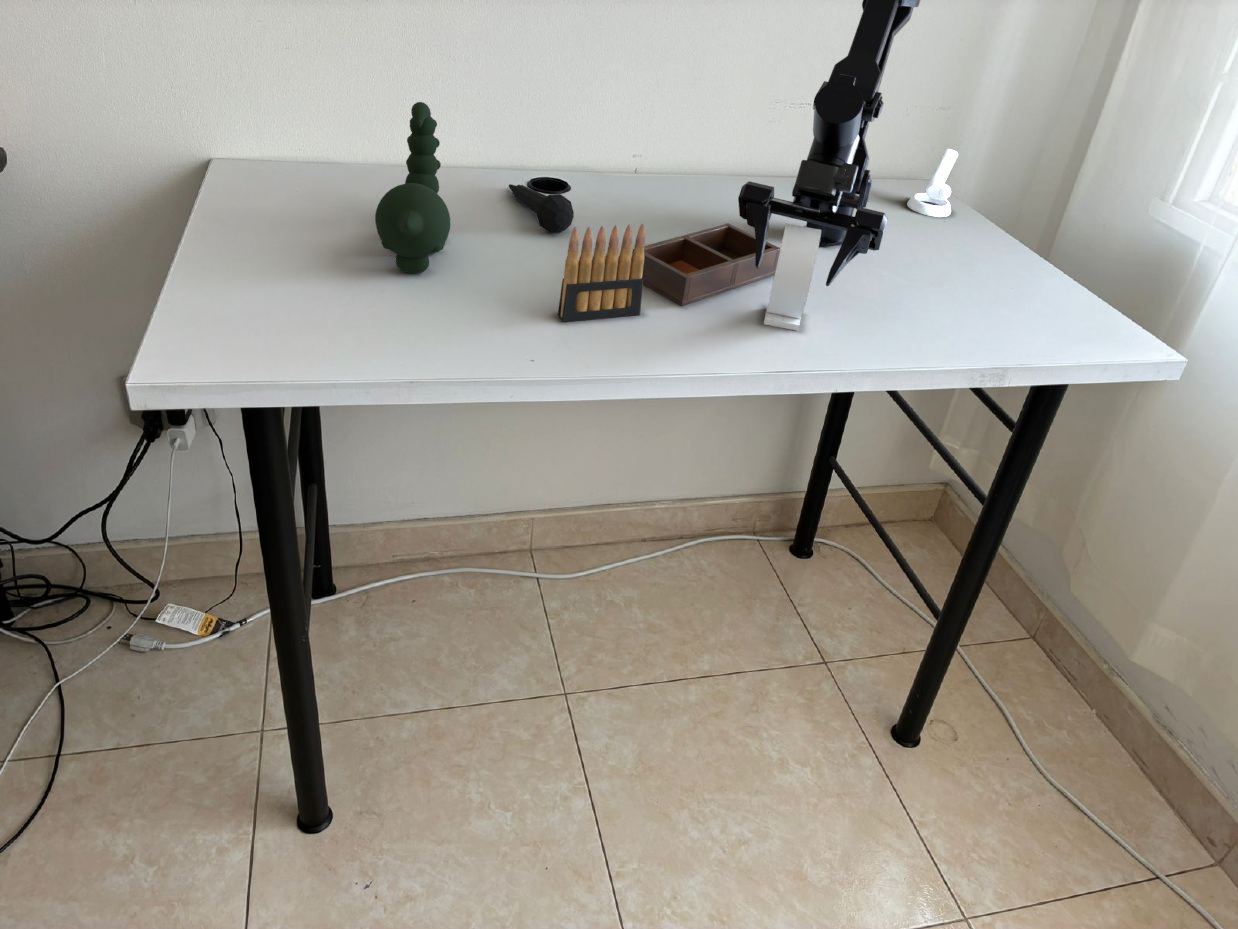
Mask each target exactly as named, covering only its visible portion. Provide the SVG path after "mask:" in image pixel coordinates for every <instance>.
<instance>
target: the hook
mask: <svg viewBox="0 0 1238 929" xmlns="http://www.w3.org/2000/svg"><path fill="white" fill-rule="evenodd" d="M958 157H959V153H958V151H956V150H954V149H951V148H947V149H945V151H944V153H943V155H942V156H941V158H940V160H939V163H938V165H937V166H936V168H935V170H934V172H933V175H932V176H931V178H930V180H929V182H928V183H927V185H926V187H925V192H917V193H914V194H913V195H912V196H911V198H909V199H908V201H907V203H906V205H907V207H908V208H909V209H910V210H912V211H913V212H916V213H918V214H921V215H924V216H929V217H935V218H936V217H937V218H942V217H949V216H950V215H951V212H952V209H951V203H950V201H949V200H948V199H949V197H950V196H951V194H952V189H951V187H950V186H949V185H948V184H946V183H945V182H946V180H947V178H948V177H949V174H950V172H951V170H952V169H953V166H954V164H955V162H956V160H957V158H958ZM925 202H926V203H925ZM929 203H931V204H929ZM933 204H935V205H933Z"/></svg>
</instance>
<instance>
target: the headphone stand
mask: <svg viewBox="0 0 1238 929" xmlns="http://www.w3.org/2000/svg"><path fill="white" fill-rule="evenodd" d="M820 237H821V230H819V229H813V228H808V227H806V226H802V225H797V224H791V223H785V226H784V231H783V236H782V240H781V246H780V248H781V249H780V254H779V259H778V263H777V268H776V272H775V275H774V278H773V281H772V285H771V289H770V293H769V294H770V295H769V299H768V302H767V306H766V310H765V316H764V321H763V325H766V326H772V327H776V328H781V329H786V330H792V331H797V332H798V331H799V329H800V326H801V325H800V324H801V319H802V316H803V313H804V310H805V307H806V303H807V298H808V296H809V292H810V287H811V283H812V279H813V275H814V270H815V266H816V262H817V257H818V252H819V247H820V244H819V242H820Z"/></svg>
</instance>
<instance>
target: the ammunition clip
mask: <svg viewBox="0 0 1238 929" xmlns="http://www.w3.org/2000/svg"><path fill="white" fill-rule="evenodd" d="M645 228H646V227H645V225H644V223H641V224H640V226H639V227H638V230H637V233H636V237H635V241H634V245H633V246H634V247H633V248H632V244H633V232H632V231H633V230H632V226H631V224H628V225H627V226H626V227H625V230H624V234H623V237H622V242H621V245H620V246H621V247H620V252H619V243H620V242H619V240H620V239H619V238H620V237H619V229H618V226H617V225H616V224H615V225H614V226H613V227H612V230H611V232H610V235H609V240H608V246H607V252H606V230H605V227H604V225H601V226H600V228H599V229H598V232H597V235H596V238H595V239H596V240H595V244H594V245H595V247H594V250H593V235H592V229H591V227H590V226H587V228H586V229H585V232H584V235H583V238H582V244H581V249H580V255H579V245H580V242H579V232H578V228H577V227H573V229H572V231H571V233H570V236H569V241H568V247H567V248H568V249H567V255H566V258H565V263H564V273H563V278H562V280H561V288H560V295H559V302H558V310H557V317H559V318H560V320H561V321H562V322H563V323H571V322H582V321H593V320H603V319H614V318H624V317H635V316H640V315H641V308H642V297H643V287H644V285H643V278H642V273H643V266H644V248H645V246H646V229H645ZM632 249H634V251H633V250H632ZM632 251H633V254H632ZM592 252H594V253H593V255H592Z"/></svg>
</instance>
